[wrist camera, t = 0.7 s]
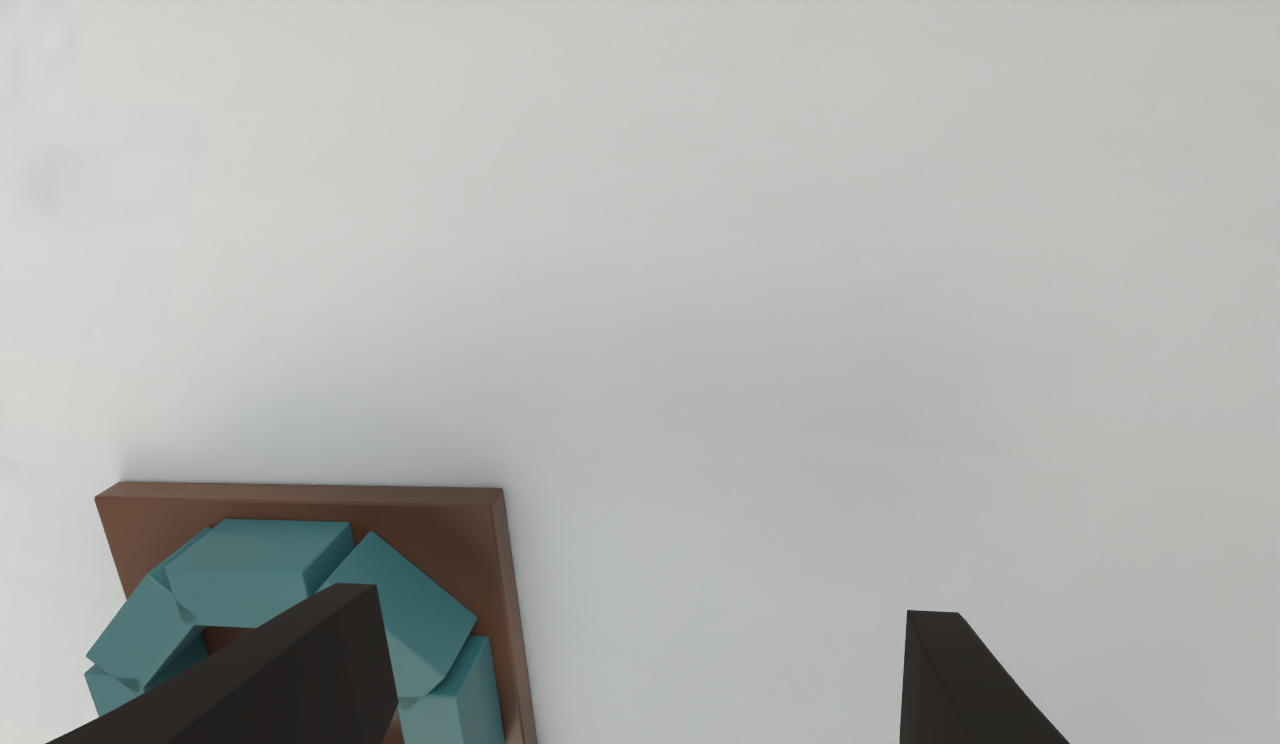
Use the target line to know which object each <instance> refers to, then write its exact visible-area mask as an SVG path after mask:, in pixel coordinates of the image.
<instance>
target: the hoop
mask: <svg viewBox="0 0 1280 744" xmlns="http://www.w3.org/2000/svg"><path fill="white" fill-rule="evenodd" d="M335 583H356V584H377V589H378V595H379V600H380V605H381V611H382V616H383V621H384V627H385V632H386V637H387V642H388V648H389V653H390V658H391V664H392V669H393V674H394V680H395V685H396V690H397V696H398V701H399V703H398V706H397V710H398V715H399V720H400V725H401V730H402V735H403V740H404V744H505V738H504V731H503V725H502V718H501V712H500V705H499V698H498V692H497V685H496V679H495V672H494V665H493V659H492V652H491V646H490V639H489V637H488V636H475V635H469V634H470V632H471V630H472V628H473V627H474V625H475V623H476V621H477V619H478V617H477V616H476V615H475V614H473V613H472V612H471V611H470V610H469V609H467V608H466V607H465V606H464V605H462V604H461V603H460V602H459V601H458V600H456V599H455V598H454V597H453V596H451V595H450V594H449V593H448V592H447V591H445V590H444V589H443V588H442V587H440V586H439V585H438V584H437V583H436V582H434V581H433V580H432V579H431V578H429V577H428V576H427V575H426V574H425V573H423V572H422V571H421V570H420V569H418V568H417V567H416V566H415V565H414V564H412V563H411V562H410V561H409V560H407V559H406V558H405V557H404V556H403V555H401V554H400V553H399V552H398V551H396V550H395V549H394V548H393V547H392V546H390V545H389V544H388V543H387V542H385V541H384V540H383V539H382V538H381V537H379V536H378V535H377V534H376V533H374V532H373V531H370V532H369V533H368V534H367V535H366V536H365V537H364V538H363V540H362V541H361V542H360V543H359V544H358V545H357V546H356V547H355V544H354V539H353V534H352V530H351V525H350V522H335V521H295V520H255V519H224V520H223V521H222V522H220V523H219V524H218V525H217V526H215V527H214V528H213V529H211V528H210V527H206V528H204V529H203V530H202V531H201V532H199V533H198V534H197V535H196V536H194V537H193V538H192V539H190V540H189V541H188V542H187V543H185V544H184V545H183V546H182V547H180V548H179V549H178V550H177V551H175V552H174V553H173V554H172V555H170V556H169V557H168V558H166V559H165V560H164V561H163V562H161V563H160V564H159V565H158V566H156V567H155V568H154V569H153V570H151V571H150V572H149V573H148V574H146V576H145V577H144V578H143V580H142V581H141V582H140V584H139V585H138V586H137V588H136V589H135V590H134V592H133V593H132V594H131V596H130V597H129V598H128V600H127V601H126V602H125V604H124V605H123V606H122V608H121V609H120V610H119V612H118V613H117V614H116V616H115V617H114V618H113V620H112V621H111V622H110V624H109V625H108V626H107V628H106V629H105V630H104V632H103V633H102V634H101V636H100V637H99V638H98V640H97V641H96V642H95V644H94V645H93V646H92V648H91V649H90V650H89V652H88V653H87V655H86V657H87V658H88V659H90V660H91V661H92V662H94V663H95V665H93V666H92V667H91V668H90V669H89V670H88V671H86V672H85V674H84V675H85V678H86V681H87V684H88V687H89V690H90V692H91V695H92V698H93V701H94V704H95V707H96V709H97V712H98V715H99V717H101V716H103V715H105V714H106V713H108V712H110V711H112V710H114V709H116V708H118V707H120V706H121V705H123V704H125V703H127V702H129V701H130V700H132V699H134V698H136V697H138V696H139V695H141V694H143V693H145V692H147V691H148V690H150V689H152V688H154V687H156V686H157V685H159V684H161V683H163V682H165V681H166V680H168V679H170V678H172V677H174V676H175V675H177V674H179V673H181V672H183V671H184V670H186V669H188V668H190V667H192V666H193V665H195V664H197V663H198V662H200V661H202V660H204V659H205V658H207V657H209V656H208V653H207V649H206V646H205V642H204V639H203V636H202V631H203V630H204V629H205V627H206V626H222V627H242V628H257V627H259V626H261V625H262V624H264V623H266V622H267V621H269V620H271V619H272V618H274V617H276V616H277V615H279V614H281V613H282V612H284V611H286V610H287V609H289V608H291V607H292V606H294V605H296V604H298V603H299V602H301V601H303V600H305V599H306V598H308V597H310V596H312V595H314V594H315V593H317V592H319V591H321V590H323V589H325V588H327V587H329V586H331V585H333V584H335Z"/></svg>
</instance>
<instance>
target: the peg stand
mask: <svg viewBox="0 0 1280 744" xmlns="http://www.w3.org/2000/svg"><path fill="white" fill-rule="evenodd" d="M94 500H95V503H96V506H97V509H98V512H99V515H100V518H101V521H102V525H103V528H104V531H105V534H106V537H107V540H108V543H109V546H110V550H111V553H112V556H113V559H114V562H115V565H116V568H117V571H118V575H119V578H120V581H121V584H122V587H123V590H124V593H125V596H126V599H127V600H128V598H129V597H130V596H131V594H132V593H133V592H134V590H135V589H136V588H137V586H138V585H139V584H140V582H141V581H142V580H143V578H144V577H145V576H146V574H148V573H149V572H150V571H151V570H153V569H154V568H155V567H156V566H158V565H159V564H160V563H161V562H163V561H164V560H165V559H166V558H168V557H169V556H170V555H172V554H173V553H174V552H175V551H177V550H178V549H179V548H180V547H182V546H183V545H184V544H185V543H187V542H188V541H189V540H190V539H192V538H193V537H194V536H196V535H197V534H198V533H199V532H201V531H202V530H203V529H204V528H206V527H210V528H211V529H213V528H214V527H215V526H217V525H218V524H219V523H220V522H222V521H223V520H224V519H255V520H295V521H335V522H350V525H351V530H352V534H353V539H354V544H355V547H356V546H357V545H358V544H359V543H360V542H361V541H362V540H363V538H364V537H365V536H366V535H367V534H368V533H369V532H370V531H373V532H374V533H376V534H377V535H378V536H379V537H381V538H382V539H383V540H384V541H385V542H387V543H388V544H389V545H390V546H392V547H393V548H394V549H395V550H396V551H398V552H399V553H400V554H401V555H403V556H404V557H405V558H406V559H407V560H409V561H410V562H411V563H412V564H414V565H415V566H416V567H417V568H418V569H420V570H421V571H422V572H423V573H425V574H426V575H427V576H428V577H429V578H431V579H432V580H433V581H434V582H436V583H437V584H438V585H439V586H440V587H442V588H443V589H444V590H445V591H447V592H448V593H449V594H450V595H451V596H453V597H454V598H455V599H456V600H458V601H459V602H460V603H461V604H462V605H464V606H465V607H466V608H467V609H469V610H470V611H471V612H472V613H473V614H475V615H476V616H477V617H478V619H477V621H476V623H475V625H474V627H473V628H472V630H471V632H470V634H469V635H475V636H488V637H489V639H490V646H491V652H492V659H493V665H494V672H495V679H496V685H497V692H498V698H499V705H500V712H501V718H502V725H503V731H504V738H505V744H537V739H536V731H535V724H534V717H533V709H532V702H531V694H530V687H529V680H528V672H527V665H526V658H525V650H524V643H523V636H522V628H521V621H520V613H519V606H518V599H517V591H516V584H515V577H514V569H513V562H512V554H511V547H510V540H509V532H508V525H507V518H506V510H505V503H504V496H503V490H502V489H501V488H463V487H404V486H345V485H285V484H226V483H167V482H118V483H116V484H115V485H113V486H112V487H110V488H108V489H107V490H105V491H103V492H102V493H100V494H99V495H97V496H95V499H94ZM254 629H256V628H242V627H222V626H206V627H205V629H204V630H203V631H202V636H203V639H204V642H205V646H206V649H207V653H208V656H210V655H212V654H214V653H215V652H217V651H219V650H220V649H222V648H224V647H225V646H227V645H229V644H230V643H232V642H234V641H235V640H237V639H239V638H240V637H242V636H244V635H245V634H247V633H249V632H251V631H252V630H254ZM382 744H404V740H403V735H402V730H401V725H400V720H399V715H398V710H397V708H396V711H395V713H394V716H393V718H392V721H391V723H390V726H389V728H388V731H387V733H386V735H385V738H384V740H383V743H382Z"/></svg>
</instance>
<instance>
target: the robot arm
mask: <svg viewBox="0 0 1280 744" xmlns="http://www.w3.org/2000/svg"><path fill="white" fill-rule="evenodd" d="M398 703H399V701H398V696H397V690H396V685H395V680H394V674H393V669H392V664H391V658H390V653H389V648H388V642H387V637H386V632H385V627H384V621H383V616H382V611H381V605H380V600H379V595H378V589H377V584H356V583H335V584H333V585H331V586H329V587H327V588H325V589H323V590H321V591H319V592H317V593H315V594H314V595H312V596H310V597H308V598H306V599H305V600H303V601H301V602H299V603H298V604H296V605H294V606H292V607H291V608H289V609H287V610H286V611H284V612H282V613H281V614H279V615H277V616H276V617H274V618H272V619H271V620H269V621H267V622H266V623H264V624H262V625H261V626H259V627H257V628H256V629H254V630H252V631H251V632H249V633H247V634H245V635H244V636H242V637H240V638H239V639H237V640H235V641H234V642H232V643H230V644H229V645H227V646H225V647H224V648H222V649H220V650H219V651H217V652H215V653H214V654H212V655H210V656H209V657H207V658H205V659H204V660H202V661H200V662H198V663H197V664H195V665H193V666H192V667H190V668H188V669H186V670H184V671H183V672H181V673H179V674H177V675H175V676H174V677H172V678H170V679H168V680H166V681H165V682H163V683H161V684H159V685H157V686H156V687H154V688H152V689H150V690H148V691H147V692H145V693H143V694H141V695H139V696H138V697H136V698H134V699H132V700H130V701H129V702H127V703H125V704H123V705H121V706H120V707H118V708H116V709H114V710H112V711H110V712H108V713H106V714H105V715H103V716H101V717H99V718H97V719H95V720H93V721H91V722H89V723H87V724H85V725H83V726H81V727H79V728H77V729H75V730H73V731H71V732H69V733H67V734H65V735H63V736H61V737H58V738H56V739H54V740H52V741H50V742H48V743H46V744H382V743H383V740H384V738H385V735H386V733H387V731H388V728H389V726H390V723H391V721H392V718H393V716H394V713H395V711H396V708H397V706H398ZM900 744H1070V743H1069V742H1068V741H1067V740H1066V739H1065V738H1064V737H1063V735H1062V734H1061V733H1060V732H1059V731H1058V730H1057V729H1056V728H1055V727H1054V725H1053V724H1052V723H1051V722H1050V721H1049V720H1048V719H1047V718H1046V717H1045V715H1044V714H1043V713H1042V712H1041V711H1040V710H1039V709H1038V708H1037V707H1036V706H1035V704H1034V703H1033V702H1032V701H1031V700H1030V699H1029V697H1028V696H1027V695H1026V694H1025V693H1024V692H1023V690H1022V689H1021V688H1020V687H1019V686H1018V685H1017V683H1016V682H1015V681H1014V680H1013V679H1012V677H1011V676H1010V675H1009V674H1008V673H1007V671H1006V670H1005V669H1004V668H1003V667H1002V665H1001V664H1000V663H999V662H998V660H997V659H996V658H995V657H994V655H993V654H992V653H991V652H990V650H989V649H988V648H987V647H986V645H985V644H984V643H983V642H982V640H981V639H980V638H979V637H978V635H977V634H976V633H975V631H974V630H973V629H972V628H971V626H970V625H969V624H968V623H967V621H966V620H965V619H964V618H963V617H962V616H961V615H960V614H959V613H955V612H934V611H914V610H907V623H906V640H905V656H904V673H903V690H902V707H901V724H900Z"/></svg>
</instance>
